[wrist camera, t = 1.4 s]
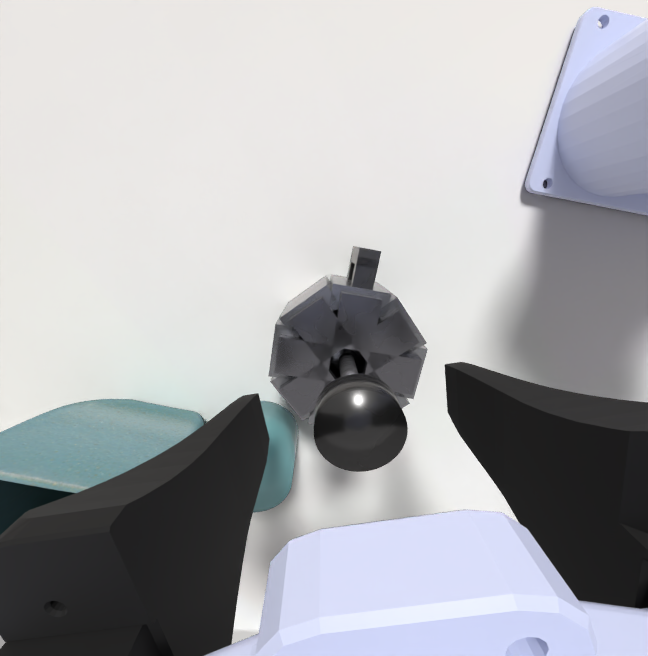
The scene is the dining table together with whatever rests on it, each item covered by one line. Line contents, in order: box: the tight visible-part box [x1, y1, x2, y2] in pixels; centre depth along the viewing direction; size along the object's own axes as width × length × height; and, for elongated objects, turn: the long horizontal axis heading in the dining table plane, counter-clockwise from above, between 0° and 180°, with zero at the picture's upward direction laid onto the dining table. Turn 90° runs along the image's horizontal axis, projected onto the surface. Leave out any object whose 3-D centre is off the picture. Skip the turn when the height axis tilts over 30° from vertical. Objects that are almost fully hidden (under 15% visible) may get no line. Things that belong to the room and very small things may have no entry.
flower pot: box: [0, 399, 204, 535], centre depth 17 cm, size 9×9×9 cm
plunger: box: [314, 353, 407, 472], centre depth 13 cm, size 3×3×6 cm
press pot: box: [269, 246, 427, 424], centre depth 17 cm, size 8×9×4 cm
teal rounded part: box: [253, 401, 298, 512], centre depth 19 cm, size 5×5×4 cm
